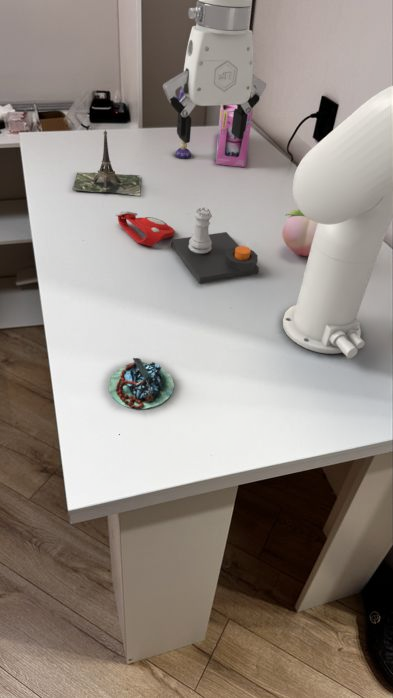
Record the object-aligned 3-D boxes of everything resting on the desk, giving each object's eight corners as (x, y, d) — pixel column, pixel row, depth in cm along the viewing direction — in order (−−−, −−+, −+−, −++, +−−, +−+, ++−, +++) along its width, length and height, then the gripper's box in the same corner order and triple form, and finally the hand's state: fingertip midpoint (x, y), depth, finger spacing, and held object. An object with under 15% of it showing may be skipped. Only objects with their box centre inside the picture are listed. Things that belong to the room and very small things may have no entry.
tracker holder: (175, 220, 110) (177, 233, 101) (169, 240, 112) (170, 254, 103) (118, 203, 107) (114, 214, 98) (113, 224, 109) (109, 236, 100)
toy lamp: (190, 160, 138) (196, 91, 128) (173, 158, 138) (176, 90, 127) (191, 153, 142) (196, 86, 131) (173, 152, 142) (177, 84, 131)
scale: (260, 274, 99) (263, 260, 97) (199, 285, 94) (201, 270, 92) (227, 237, 108) (228, 224, 106) (170, 245, 104) (171, 232, 102)
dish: (182, 388, 71) (138, 353, 69) (147, 428, 71) (102, 395, 69) (176, 372, 78) (136, 340, 76) (144, 408, 79) (104, 378, 77)
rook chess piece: (209, 256, 99) (213, 217, 94) (185, 252, 100) (188, 213, 94) (213, 245, 103) (217, 207, 97) (190, 241, 103) (194, 203, 98)
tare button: (252, 259, 97) (253, 252, 96) (238, 261, 96) (239, 254, 95) (245, 252, 99) (246, 244, 98) (231, 254, 98) (232, 246, 97)
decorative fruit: (326, 249, 108) (338, 203, 101) (322, 269, 102) (335, 222, 95) (280, 240, 109) (290, 194, 103) (274, 259, 103) (284, 211, 97)
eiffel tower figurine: (140, 177, 127) (141, 119, 119) (139, 195, 120) (140, 135, 111) (77, 174, 126) (73, 115, 117) (72, 192, 118) (67, 131, 110)
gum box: (245, 169, 136) (253, 114, 128) (215, 166, 136) (221, 111, 128) (244, 138, 155) (251, 87, 146) (217, 135, 155) (222, 85, 146)
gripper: (176, 22, 71) (170, 150, 82) (287, 24, 77) (267, 143, 88) (157, 11, 76) (153, 133, 87) (262, 14, 82) (246, 127, 93)
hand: (211, 138), depth 88 cm, fingers open, 9 cm apart
